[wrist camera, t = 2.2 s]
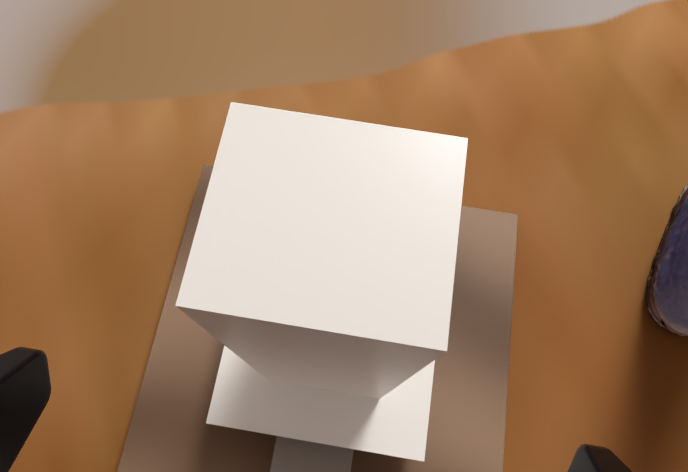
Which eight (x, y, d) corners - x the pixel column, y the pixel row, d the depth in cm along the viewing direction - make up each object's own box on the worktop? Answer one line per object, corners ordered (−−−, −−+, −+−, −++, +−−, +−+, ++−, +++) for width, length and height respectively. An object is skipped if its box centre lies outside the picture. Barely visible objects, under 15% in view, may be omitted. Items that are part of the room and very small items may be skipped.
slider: (420, 460, 16) (566, 507, 6) (211, 423, 17) (14, 409, 6) (440, 270, 18) (576, 66, 8) (254, 240, 19) (157, 4, 8)
